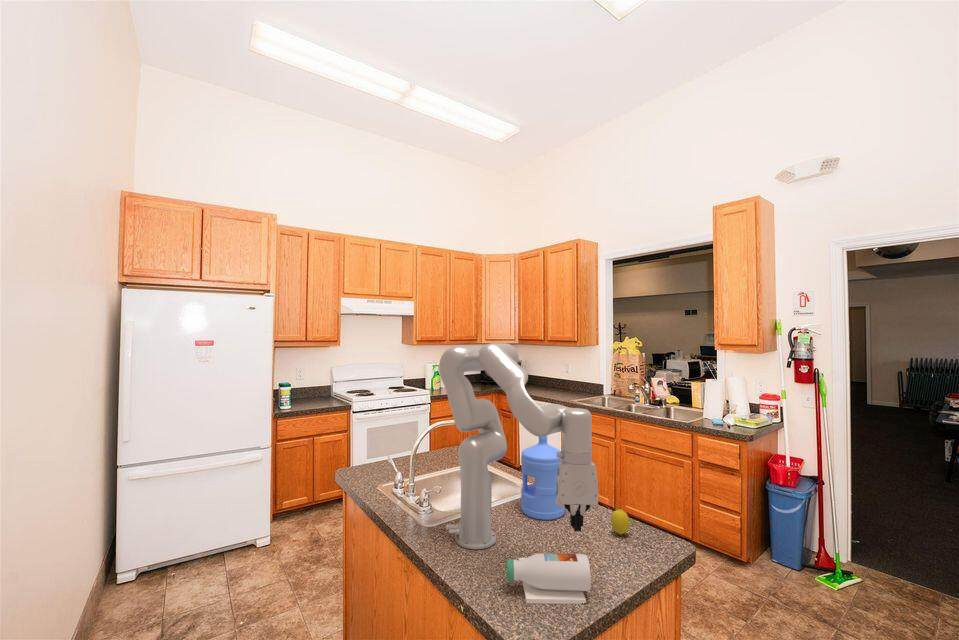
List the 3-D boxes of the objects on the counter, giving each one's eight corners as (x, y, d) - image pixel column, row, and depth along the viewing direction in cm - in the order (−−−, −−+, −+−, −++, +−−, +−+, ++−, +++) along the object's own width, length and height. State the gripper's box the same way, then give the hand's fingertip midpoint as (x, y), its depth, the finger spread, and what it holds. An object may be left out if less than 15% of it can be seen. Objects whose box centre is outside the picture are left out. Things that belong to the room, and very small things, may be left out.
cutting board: (526, 603, 95) (526, 599, 95) (518, 561, 113) (518, 557, 113) (585, 604, 95) (585, 599, 95) (568, 561, 113) (568, 558, 113)
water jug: (563, 504, 153) (563, 428, 154) (566, 522, 137) (566, 439, 139) (521, 501, 155) (522, 427, 156) (519, 519, 140) (520, 436, 141)
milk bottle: (592, 571, 95) (507, 568, 96) (591, 599, 97) (507, 596, 98) (585, 546, 103) (506, 544, 104) (584, 573, 104) (506, 570, 105)
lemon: (621, 529, 133) (621, 504, 133) (633, 537, 128) (633, 511, 128) (607, 532, 131) (607, 506, 131) (619, 540, 126) (619, 513, 126)
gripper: (550, 461, 102) (550, 535, 101) (610, 461, 102) (610, 536, 101) (545, 452, 109) (545, 522, 109) (601, 453, 109) (601, 522, 109)
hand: (576, 528), depth 105 cm, fingers closed
